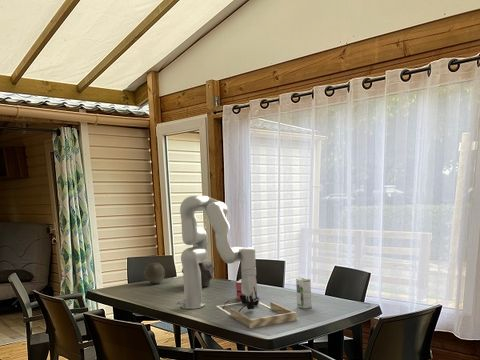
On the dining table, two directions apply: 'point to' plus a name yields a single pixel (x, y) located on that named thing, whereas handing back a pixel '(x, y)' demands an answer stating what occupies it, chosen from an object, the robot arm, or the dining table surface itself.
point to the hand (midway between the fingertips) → (250, 308)
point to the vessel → (205, 272)
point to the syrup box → (303, 292)
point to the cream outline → (238, 303)
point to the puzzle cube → (239, 289)
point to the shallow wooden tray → (284, 316)
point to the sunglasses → (245, 301)
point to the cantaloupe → (154, 272)
